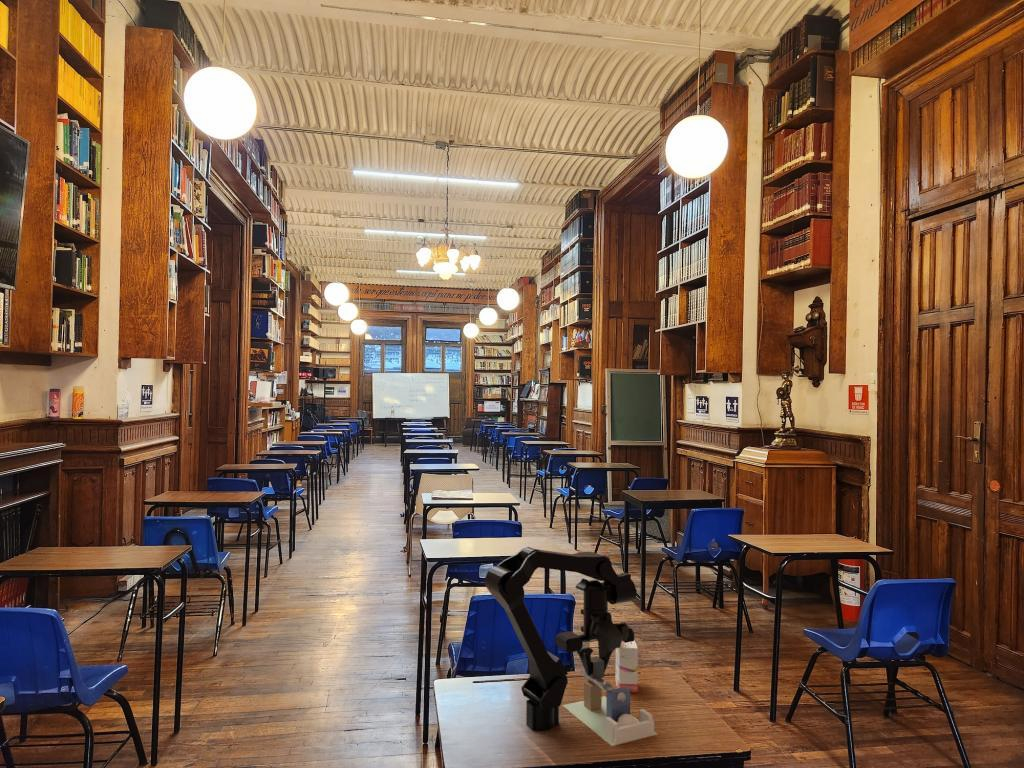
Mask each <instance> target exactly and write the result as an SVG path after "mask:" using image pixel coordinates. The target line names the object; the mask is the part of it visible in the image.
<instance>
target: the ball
mask: <svg viewBox="0 0 1024 768" xmlns="http://www.w3.org/2000/svg"><path fill="white" fill-rule="evenodd" d="M632 716H633V715H632ZM632 716H631V714H630V715H629V714H623V715H621V716H620V717H619V718H618V721H617V723H618V727H621V726H625V725H629V724H633V723H636V722H635V719H634V718H633V717H634V716H633V717H632Z"/></svg>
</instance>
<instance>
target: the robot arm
mask: <svg viewBox="0 0 1024 768" xmlns="http://www.w3.org/2000/svg"><path fill="white" fill-rule="evenodd" d="M538 568H539V569H541V568H542V569H546V570H547V569H548V570H555V571H556V570H557V571H562V572H563V571H564V572H571V573H578V574H581V575H583V576H585V577H589V578H592V579H593V580H588V579H585V578H582V579H581V580H580V581H579V582H578V583H577V584H576V585H575V589H576V590H580V591H583V608H582V609H580V614H581V615H583V626H580V631H581V632H582V633H583V634H577V633H575V632H573V631H572V630H570V631H564V632H558V634H557V635H556V636H555V645H556V646H557V647H558V648H560V649H561V650H563V651H565V652H566V653H574V652H576V653H577V655H578V657H579V659H580V661H581V664H582V668H584V669H585V672H586V674H587V675H588V676H590V674H591V657H592V653H593V652H594V649H593V648H591V646H590V645H591V644H590V643H593V642H597V647H598V657H599V658H601V659H602V660H604V674H605V673H606V669H607V667H608V663H609V661H610V660H611V659H610V658H611V656H612V653H613V652H614V651H616V648H620V647H621V643H622V641H623V642H625V643H626V642H632V641H634V640H635V639H636V637H635V631H634V630H633V628H632V627H630V626H628V624H627V623H626V622H620V623H613V620H612V617H613V616H612V613H611V612H609V605H618V604H623V603H624V604H625V603H629V602H630V603H631V602H634V600H636V598H637V593H638V590H637V588H636V585H635V583H634V581H633V579H632V577H631V576H632V575H631V573H627V572H621V573H616V572H617V571H615V569H614V567H613V564H612V561H611V559H610V557H608V556H606V555H602V554H599V553H597V552H593V551H579V552H576V553H566V552H558V551H553V550H551V551H550V550H545V549H544V550H543V549H540V548H539V549H537V548H534V547H529V546H526V547H523V548H521V549H520V550H519V551H518V552H516V553H515V554H513V555H512V556H509V557H507V558H505V559H503V560H502V561H501V562H499V563H498V564H497V565H495V566H493V567H491V568H490V569H489V570H488V571H487V573H486V574H485V578H484V586H485V587H486V589H487V591H489V593H490V595H491V596H493V598H494V600H496V602H498V603H499V604H500V606H501V607H502V608H503V609H504V612H505V613H506V615H507V618H508V620H509V621H510V623H511V625H512V628H513V629H514V632H515V634H516V636H517V638H518V641H519V642H520V645H521V646H522V649H523V650H524V651H523V652H524V653H525V655H526V657H527V658H528V673H529V676H528V678H527V679H526V681H525V682H524V684H523V685H522V686H521V689H520V690H521V692H522V695H523V697H526V698H527V699H526V717H525V718H526V719H525V721H526V723H525V724H526V726H527V727H528V728H529V729H530V730H531V731H533V732H535V731H537V732H546V731H547V732H548V731H550V730H552V729H554V727H556V726H558V725H559V724H560V707H561V706H562V702H563V699H564V695H565V691H566V690H567V685H568V684H569V683H568V682H569V680H568V677H567V675H569V672H568V671H566V669H565V667H564V663H563V660H562V658H560V657H558V656H556V655H555V654H553V653H551V652H549V651H548V650H547V648H546V645H545V644H544V642H543V639H542V637H541V635H540V633H539V631H538V630H537V626H536V625H535V622H534V621H533V618H532V617H531V613H530V612H529V610H528V608H527V606H526V604H525V589H524V586H526V584H528V583H529V582H530V580H531V578H532V577H533V574H534V573H535V571H536V570H538ZM608 604H609V605H608ZM635 641H636V640H635Z"/></svg>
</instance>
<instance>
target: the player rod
mask: <svg viewBox="0 0 1024 768" xmlns="http://www.w3.org/2000/svg"><path fill="white" fill-rule="evenodd" d="M580 674H581V676H582V677H583V678H585V679H586V680H587V681H591V682H592V683H594V684H595V685H596V686H598V687H599V688H601V689H602V691H604V692H605V693H606V696H605V697H606V717H610V718H612V719H613V720H614V721H615V722H617V721H618V718H619V717H620V716H621V715H623V714H629V715H631V692H630V690H629V689H627V688H626V687H622V688H617V687H615V686H614V685H612V684H611V683H609V682H608V681H607V680H605V679H603V678H605V673H604V660H602V659H601V658H599V656H593V657H592V656H591V674H590V676H588V675H587V674H586V672H585V669H584V667H582V668H581V670H580Z"/></svg>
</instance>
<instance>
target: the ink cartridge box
mask: <svg viewBox="0 0 1024 768" xmlns="http://www.w3.org/2000/svg"><path fill="white" fill-rule="evenodd" d="M614 672H615V679H614V680H615V684H616V688H617V689H618V688H622V687H626V688H627V689H629V690H630V693H631V692H633V693H636V692H639V677H638V676H639V675H638V673H639V648H638V645H637V643H636V640H634V641H632V642H626V643H625V642H623V641H622V643H621V647H620V648H616V649H615V671H614Z"/></svg>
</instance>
